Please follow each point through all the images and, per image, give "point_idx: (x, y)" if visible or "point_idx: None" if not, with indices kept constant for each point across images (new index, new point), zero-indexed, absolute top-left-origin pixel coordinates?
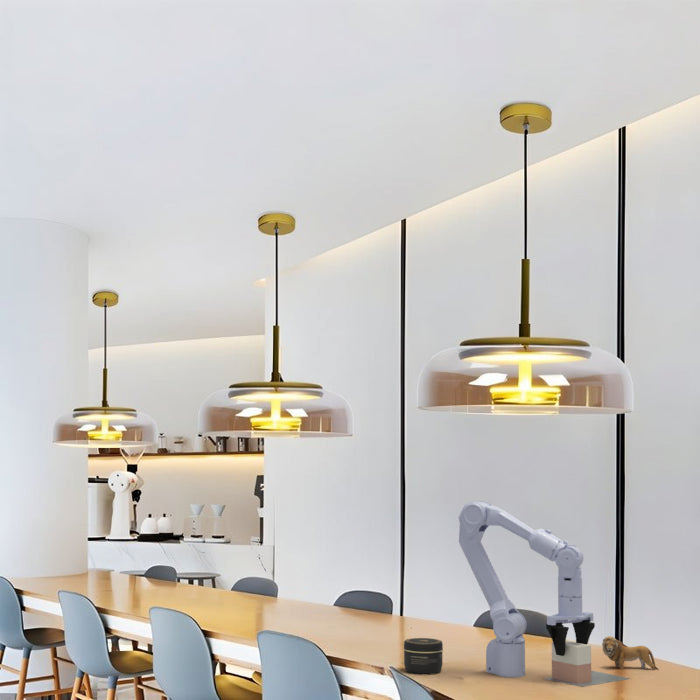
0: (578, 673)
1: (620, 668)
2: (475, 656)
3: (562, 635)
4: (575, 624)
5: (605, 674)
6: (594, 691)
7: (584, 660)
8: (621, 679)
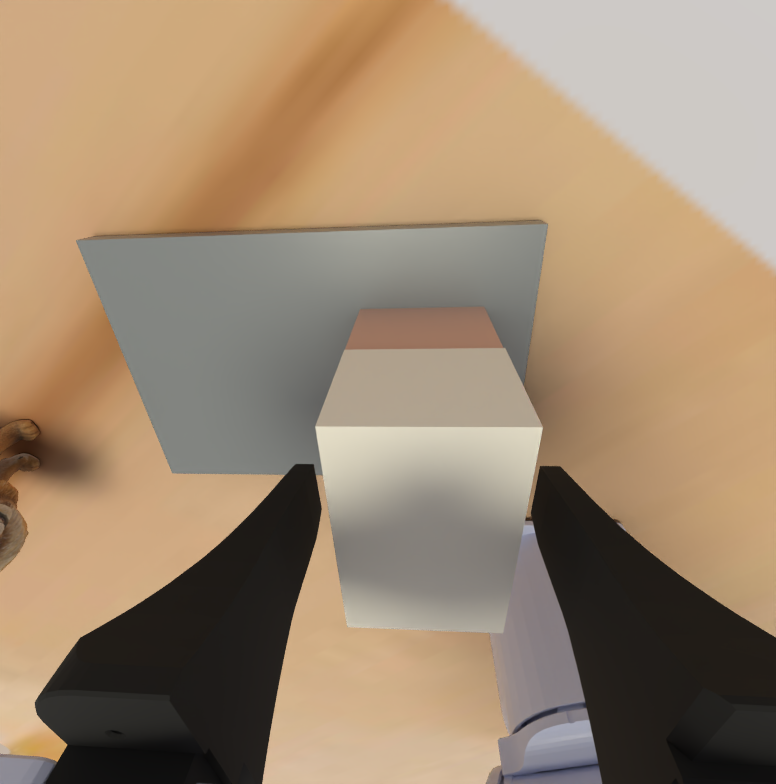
0: (481, 327)
1: (9, 439)
2: (350, 736)
3: (718, 606)
4: (252, 761)
5: (162, 391)
6: (477, 173)
7: (420, 361)
8: (153, 251)
